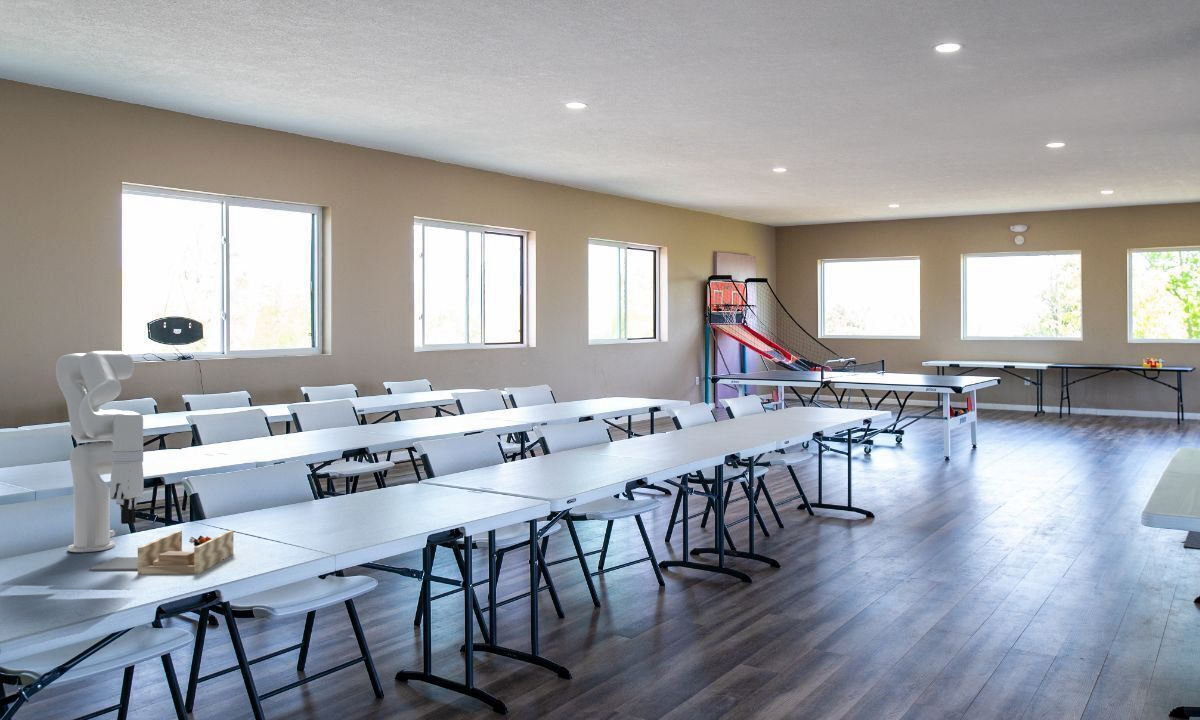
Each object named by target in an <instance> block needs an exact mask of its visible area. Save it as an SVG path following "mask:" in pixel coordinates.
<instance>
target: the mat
mask: <svg viewBox="0 0 1200 720" xmlns="http://www.w3.org/2000/svg"><path fill="white" fill-rule="evenodd" d="M88 571H89V572H105V571H106V572H115V571H117V572H118V571H120V572H123V571H125V572H126V571H127V572H130V571H131V572H133V571H134V572H138V556H133V557H131V556H130V557H129V556H125V557H122V556H121V557H120V556H119V557H118V556H117V557H116V556H115V557H113V558H111V559H109V560H107V561H104V562H102V563H100V564H99V563H98V564H97V565H95V566H92V567H90V568H89V569H88Z"/></svg>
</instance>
